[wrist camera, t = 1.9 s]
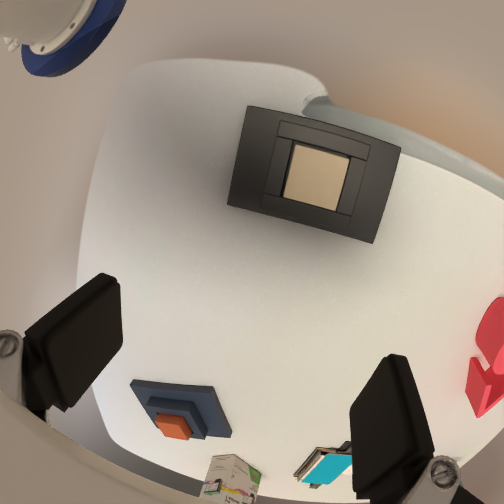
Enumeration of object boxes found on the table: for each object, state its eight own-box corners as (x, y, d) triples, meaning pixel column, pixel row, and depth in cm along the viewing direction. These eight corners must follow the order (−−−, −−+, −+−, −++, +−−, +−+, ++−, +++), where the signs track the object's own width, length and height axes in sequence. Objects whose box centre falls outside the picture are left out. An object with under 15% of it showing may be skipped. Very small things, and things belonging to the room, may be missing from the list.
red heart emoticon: (488, 389, 26) (500, 414, 21) (438, 392, 27) (448, 421, 22) (538, 304, 20) (559, 325, 16) (493, 295, 22) (515, 320, 17)
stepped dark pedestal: (229, 202, 23) (220, 209, 21) (249, 106, 20) (242, 102, 18) (370, 240, 22) (377, 251, 20) (398, 147, 19) (409, 148, 17)
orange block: (169, 427, 33) (165, 436, 31) (159, 411, 32) (154, 421, 30) (192, 430, 32) (188, 440, 31) (183, 415, 31) (178, 425, 29)
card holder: (345, 487, 38) (344, 494, 37) (286, 482, 40) (285, 489, 38) (400, 438, 31) (402, 446, 29) (327, 433, 32) (327, 442, 30)
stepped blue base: (159, 422, 37) (152, 436, 35) (133, 379, 34) (123, 393, 31) (232, 431, 35) (227, 448, 32) (212, 386, 31) (205, 404, 29)
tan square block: (284, 193, 20) (283, 197, 19) (296, 144, 19) (295, 144, 17) (333, 206, 20) (335, 211, 18) (346, 158, 18) (349, 159, 17)
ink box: (262, 473, 39) (251, 528, 28) (240, 476, 41) (226, 527, 30) (234, 453, 37) (216, 513, 26) (211, 456, 39) (192, 511, 28)
